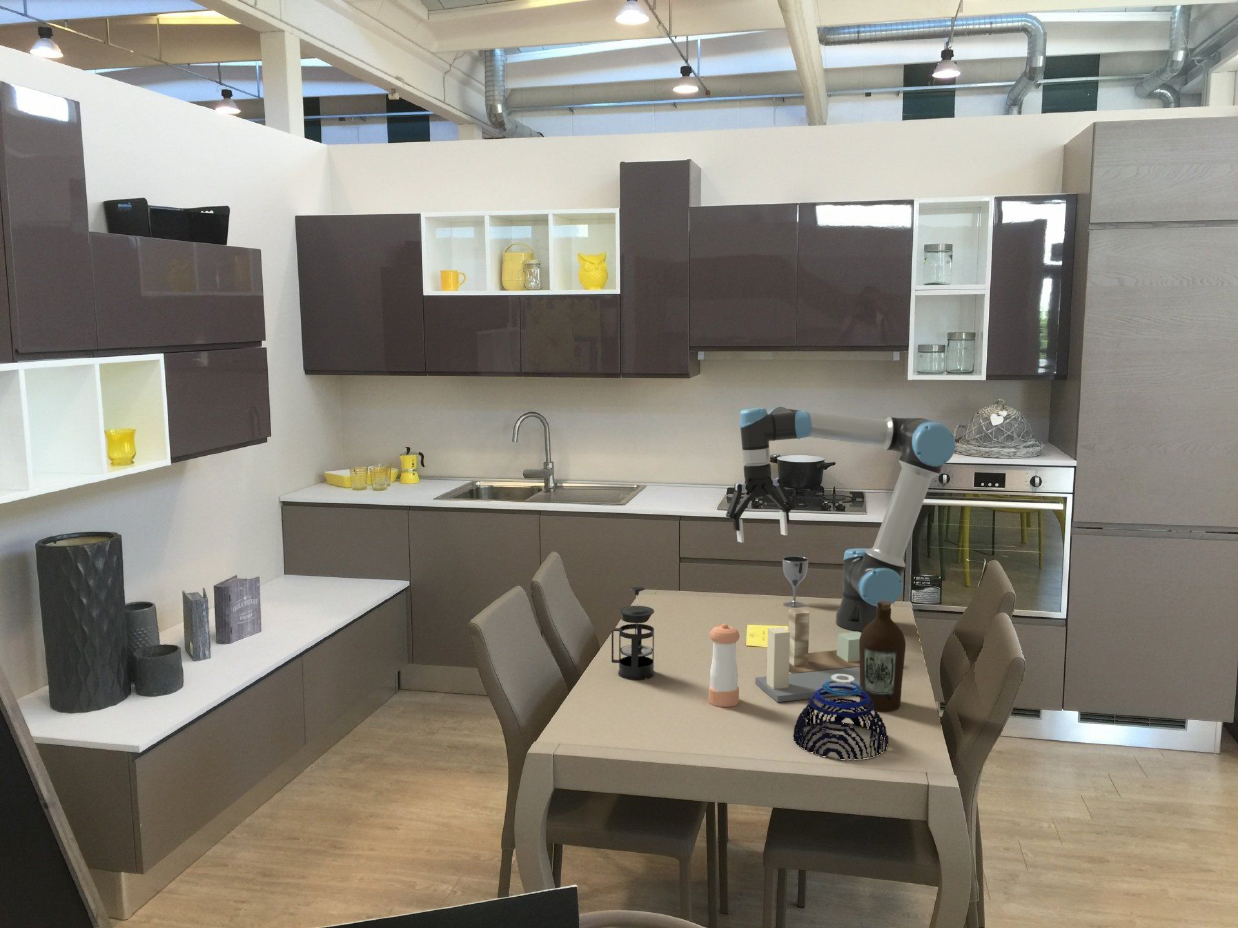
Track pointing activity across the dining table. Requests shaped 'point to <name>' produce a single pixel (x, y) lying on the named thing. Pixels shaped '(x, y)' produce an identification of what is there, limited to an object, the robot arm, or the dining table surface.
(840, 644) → the sage block
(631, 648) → the french press
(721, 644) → the pepper shaker
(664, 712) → the dining table surface
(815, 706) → the blue ringed dome
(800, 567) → the wine glass
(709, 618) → the dining table surface
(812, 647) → the dining table surface
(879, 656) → the olive oil
